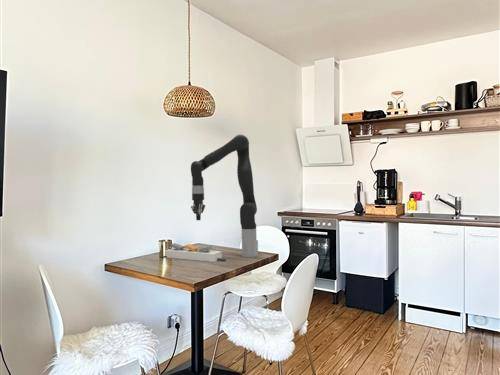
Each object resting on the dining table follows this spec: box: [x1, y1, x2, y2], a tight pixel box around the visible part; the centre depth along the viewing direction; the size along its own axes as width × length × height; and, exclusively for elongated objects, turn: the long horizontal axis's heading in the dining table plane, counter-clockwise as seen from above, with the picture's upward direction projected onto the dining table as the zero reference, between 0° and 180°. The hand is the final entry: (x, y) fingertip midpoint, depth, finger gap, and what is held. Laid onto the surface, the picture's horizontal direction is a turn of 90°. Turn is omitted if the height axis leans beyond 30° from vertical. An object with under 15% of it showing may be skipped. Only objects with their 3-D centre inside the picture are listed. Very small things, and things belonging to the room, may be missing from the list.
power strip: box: [165, 247, 226, 263], centre depth 222 cm, size 43×9×5 cm, turn 64°
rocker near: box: [198, 245, 213, 252], centre depth 218 cm, size 7×4×2 cm, turn 63°
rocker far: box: [170, 242, 185, 250], centre depth 227 cm, size 7×4×2 cm, turn 64°
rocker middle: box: [184, 243, 199, 251], centre depth 223 cm, size 7×4×2 cm, turn 64°
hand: (198, 220), depth 229 cm, fingers closed
